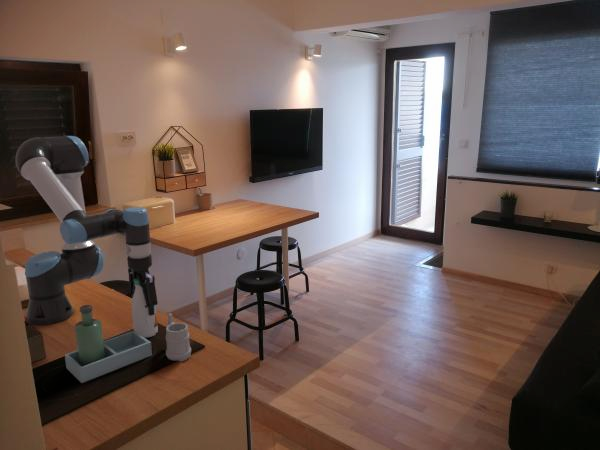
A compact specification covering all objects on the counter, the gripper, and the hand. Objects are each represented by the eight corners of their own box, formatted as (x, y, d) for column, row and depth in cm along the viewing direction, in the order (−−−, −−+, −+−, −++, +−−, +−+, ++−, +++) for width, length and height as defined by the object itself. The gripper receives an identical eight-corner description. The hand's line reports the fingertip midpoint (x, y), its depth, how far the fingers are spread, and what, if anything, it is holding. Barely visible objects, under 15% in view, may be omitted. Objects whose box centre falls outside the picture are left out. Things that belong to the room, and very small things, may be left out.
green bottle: (76, 368, 140) (68, 307, 136) (99, 359, 145) (93, 300, 141) (86, 377, 136) (78, 314, 131) (110, 367, 140) (103, 307, 136)
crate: (66, 369, 141) (64, 354, 139) (135, 344, 155) (133, 330, 154) (81, 385, 133) (79, 368, 132) (152, 356, 148) (150, 342, 146)
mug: (171, 365, 143) (168, 328, 140) (158, 349, 152) (155, 314, 149) (195, 358, 147) (193, 322, 144) (181, 342, 157) (179, 308, 154)
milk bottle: (151, 339, 158) (146, 283, 153) (129, 337, 160) (124, 281, 155) (162, 329, 166) (157, 275, 161) (141, 327, 167) (136, 273, 162)
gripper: (114, 251, 160) (120, 313, 166) (143, 265, 146) (149, 333, 152) (135, 246, 165) (140, 307, 171) (165, 259, 151) (170, 325, 157)
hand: (144, 319), depth 161 cm, fingers closed on milk bottle, 7 cm apart
